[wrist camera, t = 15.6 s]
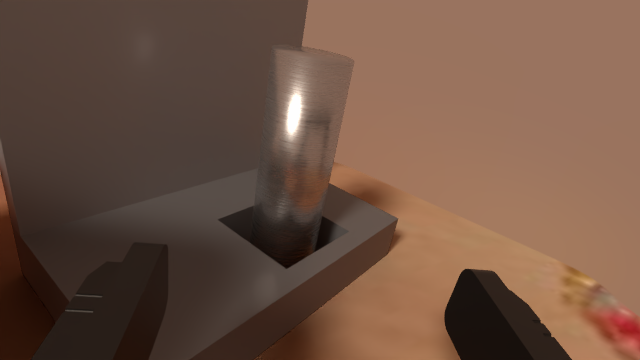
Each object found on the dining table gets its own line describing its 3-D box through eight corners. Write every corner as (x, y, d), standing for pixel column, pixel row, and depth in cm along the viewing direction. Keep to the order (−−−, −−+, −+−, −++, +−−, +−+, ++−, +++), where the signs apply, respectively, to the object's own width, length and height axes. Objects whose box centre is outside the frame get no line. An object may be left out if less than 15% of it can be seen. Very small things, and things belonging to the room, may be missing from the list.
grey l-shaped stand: (387, 254, 27) (461, 13, 20) (141, 447, 13) (112, -83, 7) (270, 186, 33) (297, -16, 26) (22, 272, 20) (-57, -96, 13)
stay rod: (323, 269, 24) (370, 63, 18) (279, 299, 21) (319, 63, 16) (279, 240, 26) (309, 45, 21) (233, 263, 23) (254, 43, 18)
